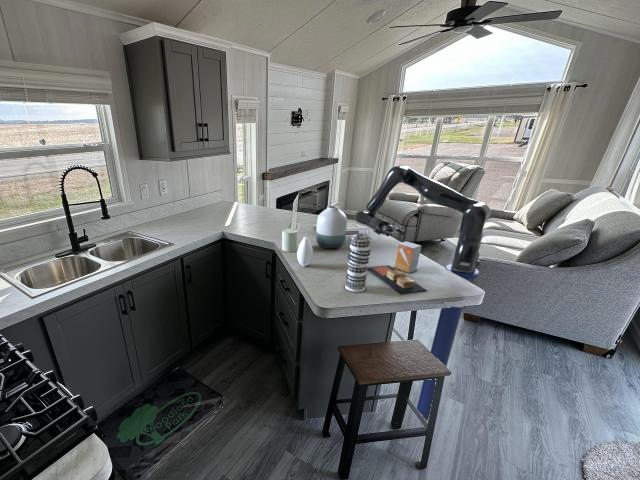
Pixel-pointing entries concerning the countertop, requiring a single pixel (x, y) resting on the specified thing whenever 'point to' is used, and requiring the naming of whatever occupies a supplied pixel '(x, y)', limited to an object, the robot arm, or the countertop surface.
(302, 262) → the white teardrop ornament
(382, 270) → the word mat
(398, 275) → the block
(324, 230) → the vase
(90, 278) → the countertop surface
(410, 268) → the small box
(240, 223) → the countertop surface
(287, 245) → the can
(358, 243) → the decorative candle
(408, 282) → the letter block
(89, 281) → the countertop surface
